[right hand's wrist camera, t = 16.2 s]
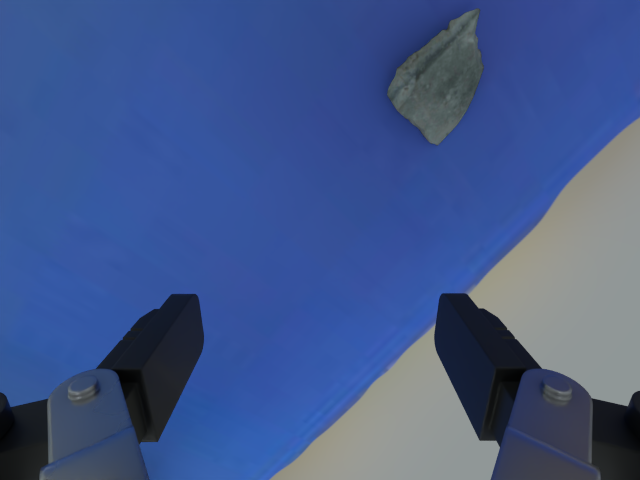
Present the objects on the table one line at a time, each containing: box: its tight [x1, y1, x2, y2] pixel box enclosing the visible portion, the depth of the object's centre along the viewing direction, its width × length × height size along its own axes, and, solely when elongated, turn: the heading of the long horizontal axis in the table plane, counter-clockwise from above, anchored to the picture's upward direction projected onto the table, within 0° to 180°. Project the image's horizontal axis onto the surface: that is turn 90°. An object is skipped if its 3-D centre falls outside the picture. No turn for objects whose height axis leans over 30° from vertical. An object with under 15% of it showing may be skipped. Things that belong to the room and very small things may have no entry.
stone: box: [387, 8, 484, 145], centre depth 34 cm, size 11×4×10 cm
